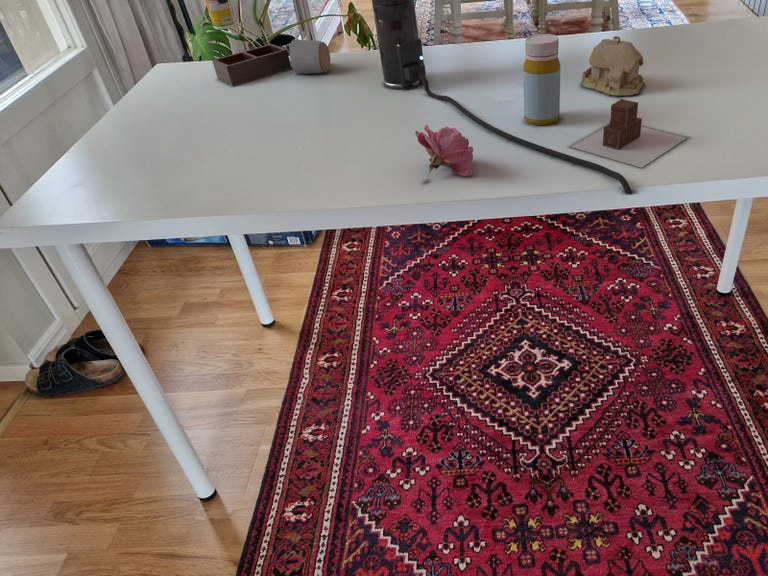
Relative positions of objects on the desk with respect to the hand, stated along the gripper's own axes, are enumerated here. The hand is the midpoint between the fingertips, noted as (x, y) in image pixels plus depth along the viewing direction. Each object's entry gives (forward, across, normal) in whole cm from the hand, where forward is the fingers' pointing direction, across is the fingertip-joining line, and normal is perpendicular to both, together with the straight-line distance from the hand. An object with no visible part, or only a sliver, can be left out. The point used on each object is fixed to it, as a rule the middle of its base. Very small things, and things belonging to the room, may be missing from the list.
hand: (217, 0), depth 149 cm
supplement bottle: (+6, 0, 0) cm, 6 cm away
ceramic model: (+18, -77, -51) cm, 94 cm away
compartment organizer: (+17, 0, -4) cm, 18 cm away
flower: (+18, -80, -1) cm, 82 cm away
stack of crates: (+18, -98, -30) cm, 104 cm away
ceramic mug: (+18, -10, -15) cm, 26 cm away
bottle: (+18, -78, -28) cm, 84 cm away
